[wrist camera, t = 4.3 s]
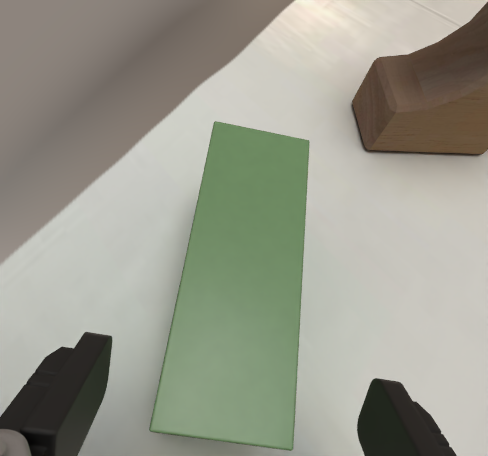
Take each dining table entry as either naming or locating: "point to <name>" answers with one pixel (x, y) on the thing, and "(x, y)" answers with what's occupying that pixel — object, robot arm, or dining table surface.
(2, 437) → the robot arm
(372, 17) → the dining table surface
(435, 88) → the decorative block
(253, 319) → the bar
